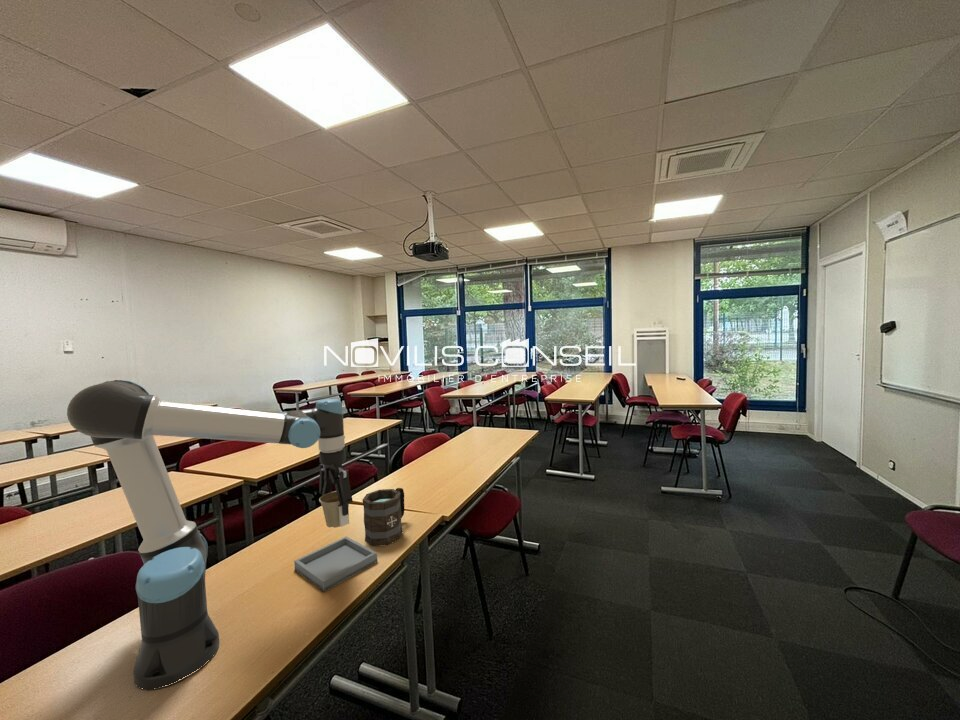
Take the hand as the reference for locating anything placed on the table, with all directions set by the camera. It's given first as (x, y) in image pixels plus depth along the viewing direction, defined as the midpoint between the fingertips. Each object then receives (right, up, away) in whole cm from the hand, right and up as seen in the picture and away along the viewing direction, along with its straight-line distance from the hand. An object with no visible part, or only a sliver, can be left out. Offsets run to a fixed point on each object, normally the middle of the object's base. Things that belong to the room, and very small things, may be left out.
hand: (336, 520), depth 118 cm
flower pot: (0, -1, 0) cm, 1 cm away
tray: (-1, -15, +2) cm, 15 cm away
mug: (+11, -14, +22) cm, 28 cm away
